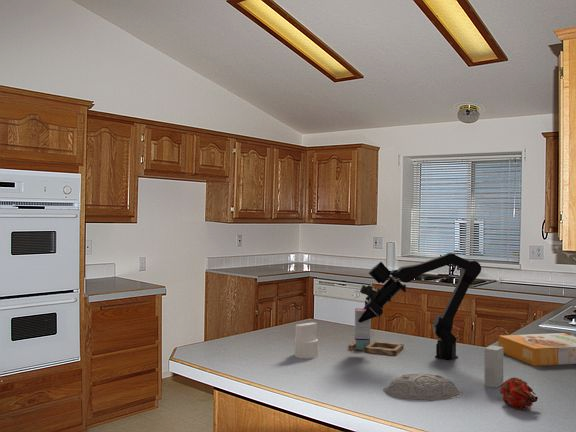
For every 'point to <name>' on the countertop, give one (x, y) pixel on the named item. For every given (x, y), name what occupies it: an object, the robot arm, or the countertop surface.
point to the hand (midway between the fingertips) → (358, 320)
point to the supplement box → (361, 326)
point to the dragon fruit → (517, 393)
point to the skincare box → (493, 366)
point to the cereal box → (540, 348)
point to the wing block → (362, 344)
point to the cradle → (380, 347)
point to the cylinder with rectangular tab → (306, 340)
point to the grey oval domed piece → (422, 387)
